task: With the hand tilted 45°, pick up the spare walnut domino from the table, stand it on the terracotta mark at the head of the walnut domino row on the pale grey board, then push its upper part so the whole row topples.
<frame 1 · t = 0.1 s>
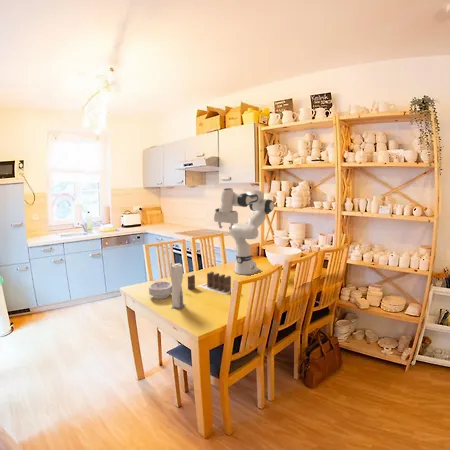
hand: (225, 228, 234), 39 cm above the table, tool pointing down, fingers open, 8 cm apart
domino 5: (227, 291, 212), point 1 cm above the table, touching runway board
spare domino: (191, 289, 218), on the table
domino 2: (210, 286, 221), point 1 cm above the table, touching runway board
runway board: (216, 289, 219), on the table
skyscraper: (177, 306, 191), on the table
domino 4: (221, 289, 215), point 1 cm above the table, touching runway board
domino 3: (216, 287, 218), point 1 cm above the table, touching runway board
paper bowls: (161, 296, 206), on the table
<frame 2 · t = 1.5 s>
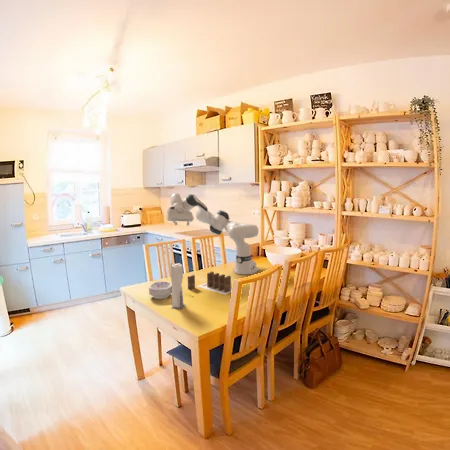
hand: (182, 224, 233), 42 cm above the table, tool tilted 45°, fingers open, 8 cm apart
nothing on the table moved.
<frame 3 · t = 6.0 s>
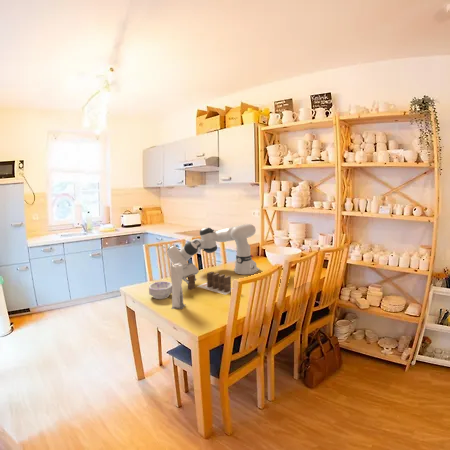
hand: (192, 281, 217), 6 cm above the table, tool tilted 45°, fingers closed on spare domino, 5 cm apart
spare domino: (191, 289, 218), on the table, touching gripper
everything else where it was.
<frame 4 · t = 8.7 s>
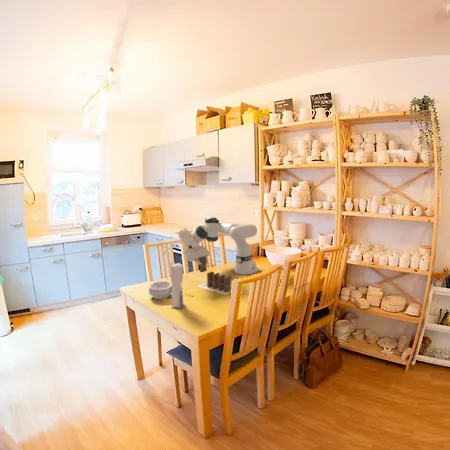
hand: (203, 263, 220), 18 cm above the table, tool tilted 45°, fingers closed on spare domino, 5 cm apart
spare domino: (203, 271, 221), point 12 cm above the table, touching gripper
everything else where it was.
when the fingers open (8 cm above the table, at t = 11.7 s): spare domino stays where it is, resting on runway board.
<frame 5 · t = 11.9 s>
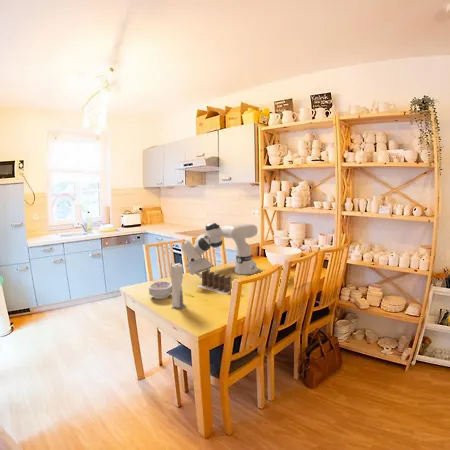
hand: (205, 275, 223), 8 cm above the table, tool tilted 45°, fingers open, 7 cm apart
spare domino: (205, 284, 225), point 1 cm above the table, touching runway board
everything else where it was.
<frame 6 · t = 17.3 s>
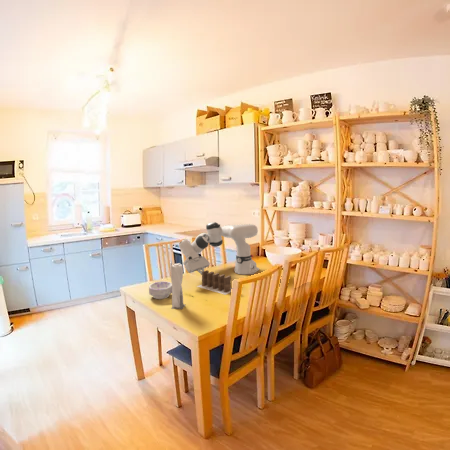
hand: (203, 274, 224), 9 cm above the table, tool tilted 45°, fingers closed
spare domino: (205, 284, 225), point 1 cm above the table, touching gripper, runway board
everything else where it was.
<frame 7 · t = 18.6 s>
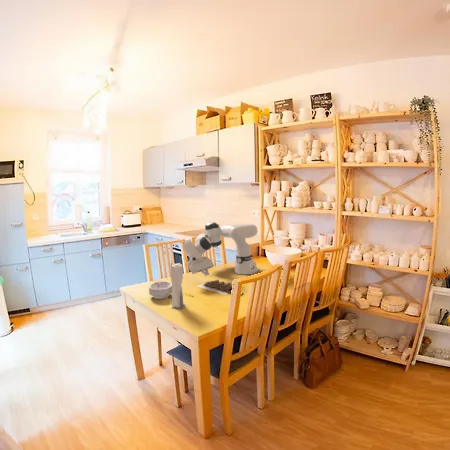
hand: (207, 274, 222), 9 cm above the table, tool tilted 45°, fingers closed
domino 5: (229, 290, 211), point 2 cm above the table, tilted 97°, touching domino 4, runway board
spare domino: (206, 284, 224), point 2 cm above the table, tilted 69°, touching domino 2, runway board
domino 2: (211, 285, 221), point 2 cm above the table, tilted 69°, touching domino 3, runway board, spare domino
domino 4: (223, 288, 214), point 2 cm above the table, tilted 68°, touching domino 3, domino 5
domino 3: (217, 287, 217), point 2 cm above the table, tilted 68°, touching domino 2, domino 4, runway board
everything else where it was.
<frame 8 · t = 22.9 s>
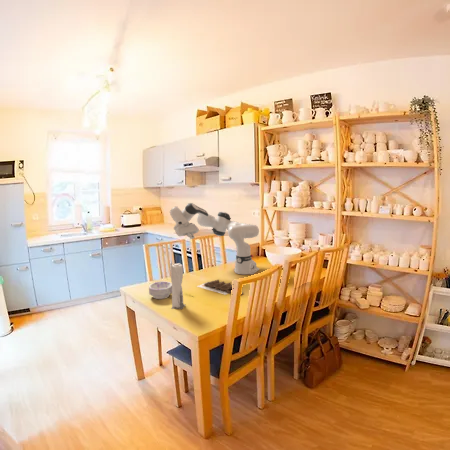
hand: (192, 238, 238), 31 cm above the table, tool tilted 45°, fingers closed
nothing on the table moved.
at the end: domino 5 tilted 97°; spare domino tilted 69°; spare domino inside the target area (0.4 cm from its centre), point 1.8 cm above the table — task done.
